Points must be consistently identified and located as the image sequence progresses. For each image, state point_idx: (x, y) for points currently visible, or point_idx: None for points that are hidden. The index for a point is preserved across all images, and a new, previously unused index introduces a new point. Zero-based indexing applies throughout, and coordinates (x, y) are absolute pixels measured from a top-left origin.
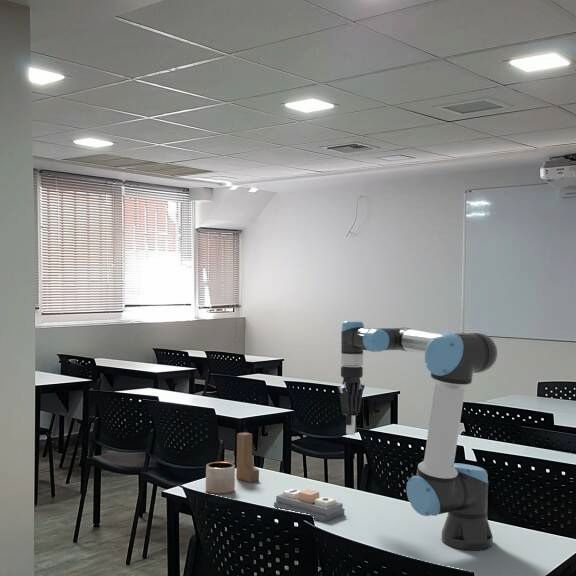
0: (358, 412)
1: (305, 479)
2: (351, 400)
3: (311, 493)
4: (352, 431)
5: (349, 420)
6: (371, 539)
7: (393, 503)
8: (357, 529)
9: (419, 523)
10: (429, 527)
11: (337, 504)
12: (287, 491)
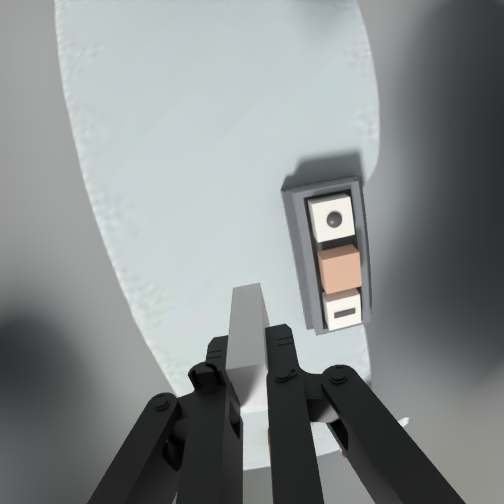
0: (170, 393)
1: None
2: (311, 497)
3: (347, 260)
4: (260, 294)
5: (293, 345)
6: (346, 38)
7: (117, 194)
8: (329, 95)
9: (174, 49)
10: (177, 21)
11: (309, 194)
12: (354, 318)
